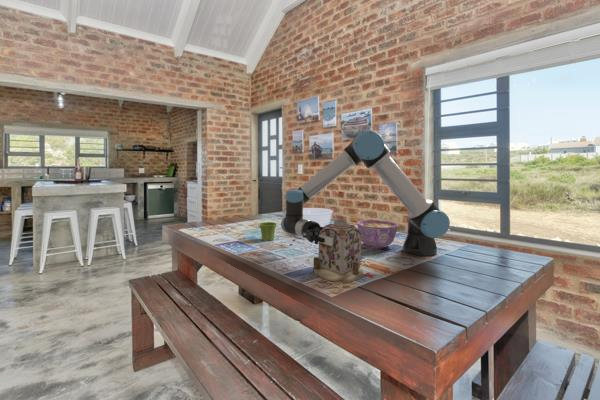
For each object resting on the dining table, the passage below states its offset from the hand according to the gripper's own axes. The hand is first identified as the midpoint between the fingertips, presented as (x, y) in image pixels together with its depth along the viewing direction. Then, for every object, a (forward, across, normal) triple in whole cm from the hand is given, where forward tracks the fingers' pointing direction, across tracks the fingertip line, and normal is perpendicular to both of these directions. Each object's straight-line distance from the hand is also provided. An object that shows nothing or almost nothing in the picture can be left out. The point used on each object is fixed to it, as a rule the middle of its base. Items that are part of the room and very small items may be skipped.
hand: (345, 239), depth 116 cm
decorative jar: (-3, 0, -12) cm, 12 cm away
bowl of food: (-20, -43, -14) cm, 49 cm away
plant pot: (-63, -7, -14) cm, 65 cm away
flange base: (-3, 0, -14) cm, 14 cm away
